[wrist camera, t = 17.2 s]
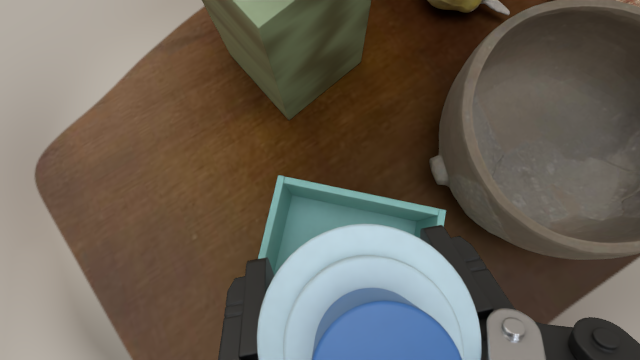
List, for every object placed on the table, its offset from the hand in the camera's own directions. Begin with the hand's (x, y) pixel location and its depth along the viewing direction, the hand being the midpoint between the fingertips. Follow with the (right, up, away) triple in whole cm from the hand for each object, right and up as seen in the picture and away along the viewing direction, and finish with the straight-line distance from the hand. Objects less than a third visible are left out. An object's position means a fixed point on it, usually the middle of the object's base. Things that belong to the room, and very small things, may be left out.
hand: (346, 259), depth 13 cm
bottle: (0, -3, +6) cm, 6 cm away
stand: (-3, +15, +21) cm, 26 cm away
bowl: (+17, +5, +18) cm, 25 cm away
